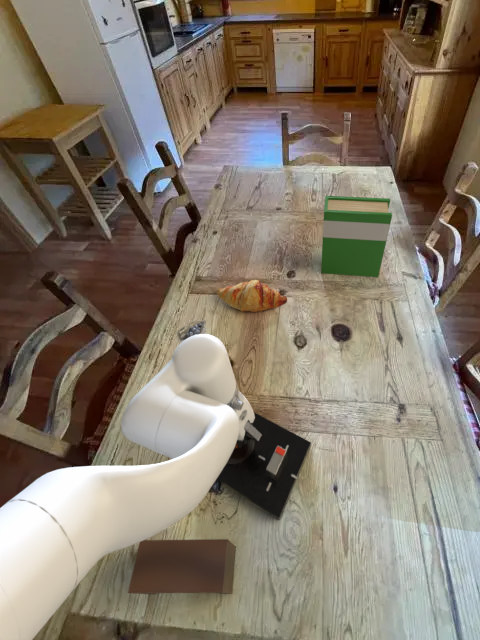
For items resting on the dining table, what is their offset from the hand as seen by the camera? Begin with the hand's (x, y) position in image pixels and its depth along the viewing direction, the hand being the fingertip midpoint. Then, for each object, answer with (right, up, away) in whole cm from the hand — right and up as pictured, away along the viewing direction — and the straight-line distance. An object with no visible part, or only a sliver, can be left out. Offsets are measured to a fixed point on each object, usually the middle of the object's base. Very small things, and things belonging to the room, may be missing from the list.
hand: (231, 432), depth 67 cm
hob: (+5, -7, +4) cm, 10 cm away
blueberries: (-15, +14, +27) cm, 34 cm away
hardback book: (+31, +31, +42) cm, 61 cm away
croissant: (+1, +21, +34) cm, 40 cm away
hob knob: (+9, -7, 0) cm, 11 cm away
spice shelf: (-5, -20, -8) cm, 22 cm away
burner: (0, -4, +4) cm, 6 cm away
